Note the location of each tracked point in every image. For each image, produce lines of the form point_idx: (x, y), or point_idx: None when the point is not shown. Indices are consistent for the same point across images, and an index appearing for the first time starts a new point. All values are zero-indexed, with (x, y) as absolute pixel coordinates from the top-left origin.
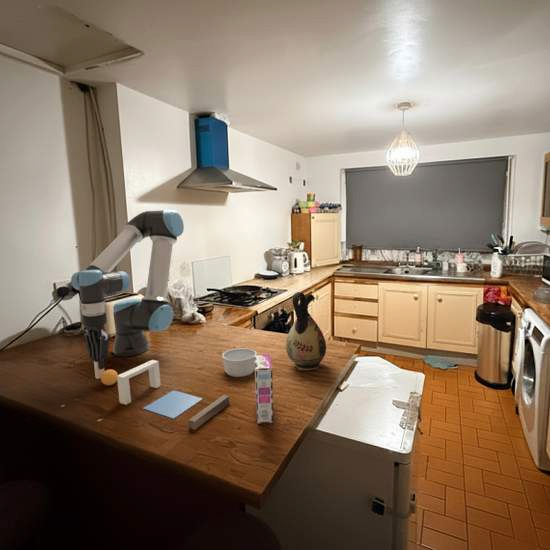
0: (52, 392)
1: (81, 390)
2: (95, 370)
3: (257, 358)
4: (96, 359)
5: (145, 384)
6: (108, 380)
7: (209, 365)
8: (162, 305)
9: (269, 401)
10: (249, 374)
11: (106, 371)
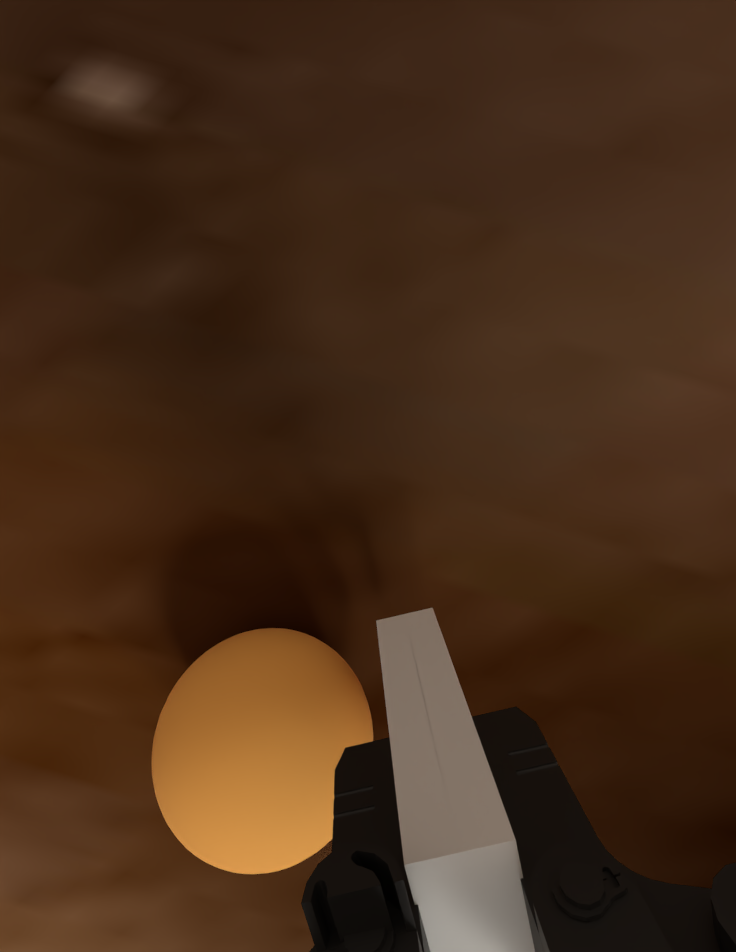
0: (624, 105)
1: (382, 395)
2: (434, 680)
3: None
4: (412, 933)
5: (4, 910)
6: (169, 695)
7: None
8: None
9: None
10: None
11: (234, 788)
